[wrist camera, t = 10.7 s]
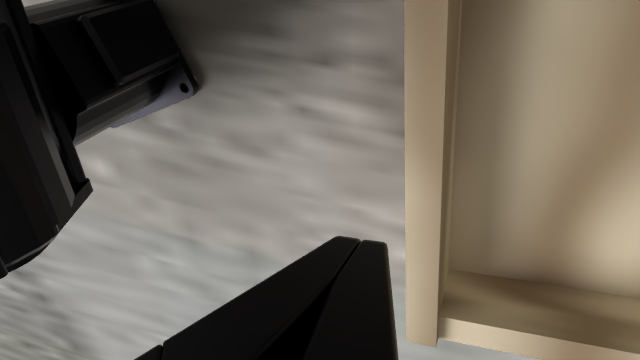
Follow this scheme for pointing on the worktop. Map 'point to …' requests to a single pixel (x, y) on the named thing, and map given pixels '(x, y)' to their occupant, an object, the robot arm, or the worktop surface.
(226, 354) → the robot arm
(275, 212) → the worktop surface
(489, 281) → the beige open tray
